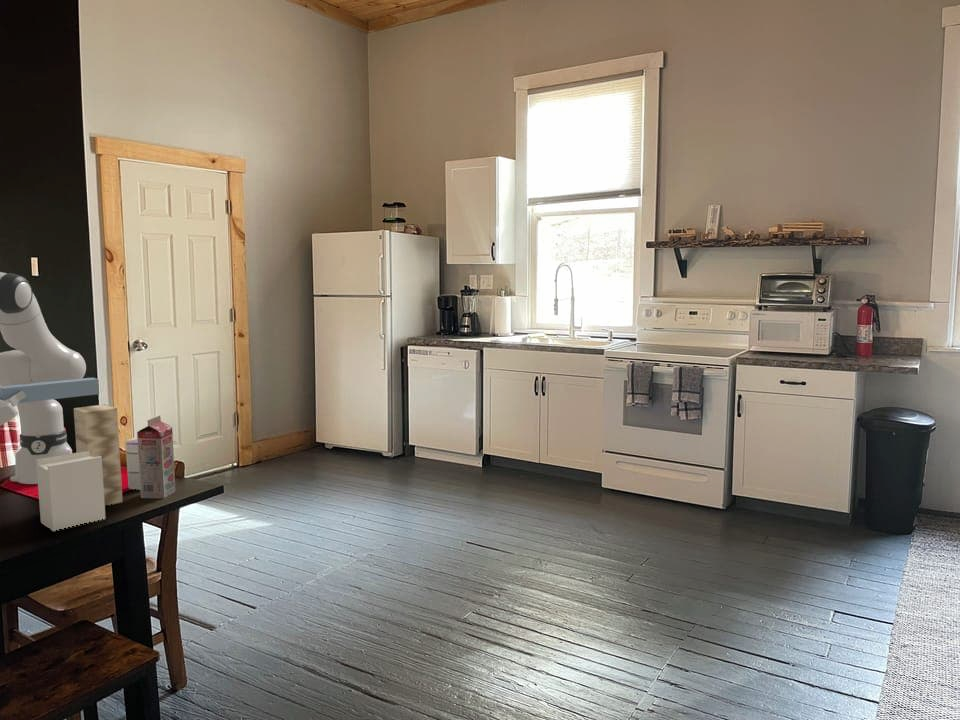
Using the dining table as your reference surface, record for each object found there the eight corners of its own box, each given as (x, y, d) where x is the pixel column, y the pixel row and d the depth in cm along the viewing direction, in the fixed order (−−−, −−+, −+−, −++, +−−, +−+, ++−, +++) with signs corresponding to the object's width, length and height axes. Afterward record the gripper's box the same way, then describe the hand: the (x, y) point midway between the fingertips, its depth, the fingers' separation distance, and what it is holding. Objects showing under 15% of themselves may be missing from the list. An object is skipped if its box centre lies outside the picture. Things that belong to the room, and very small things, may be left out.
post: (91, 509, 193) (85, 412, 189) (79, 502, 198) (73, 408, 195) (122, 502, 199) (116, 408, 195) (110, 495, 204) (105, 404, 201)
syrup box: (146, 490, 209) (143, 440, 207) (127, 489, 210) (124, 439, 208) (158, 484, 215) (155, 436, 213) (140, 483, 216) (137, 435, 214)
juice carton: (140, 497, 202) (136, 420, 200) (152, 490, 209) (148, 415, 206) (164, 498, 202) (160, 420, 199) (175, 491, 209) (171, 415, 206)
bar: (3, 404, 177) (2, 388, 177) (-2, 402, 180) (-3, 386, 179) (99, 394, 193) (98, 379, 193) (93, 392, 196) (92, 377, 196)
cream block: (53, 531, 176) (48, 466, 174) (40, 522, 182) (36, 459, 180) (105, 519, 185) (101, 456, 183) (91, 510, 191) (87, 450, 189)
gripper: (-32, 422, 165) (26, 386, 173) (-55, 410, 179) (-1, 377, 187) (-14, 443, 168) (42, 407, 176) (-38, 430, 182) (15, 397, 190)
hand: (20, 391), depth 181 cm, fingers closed on bar, 4 cm apart
